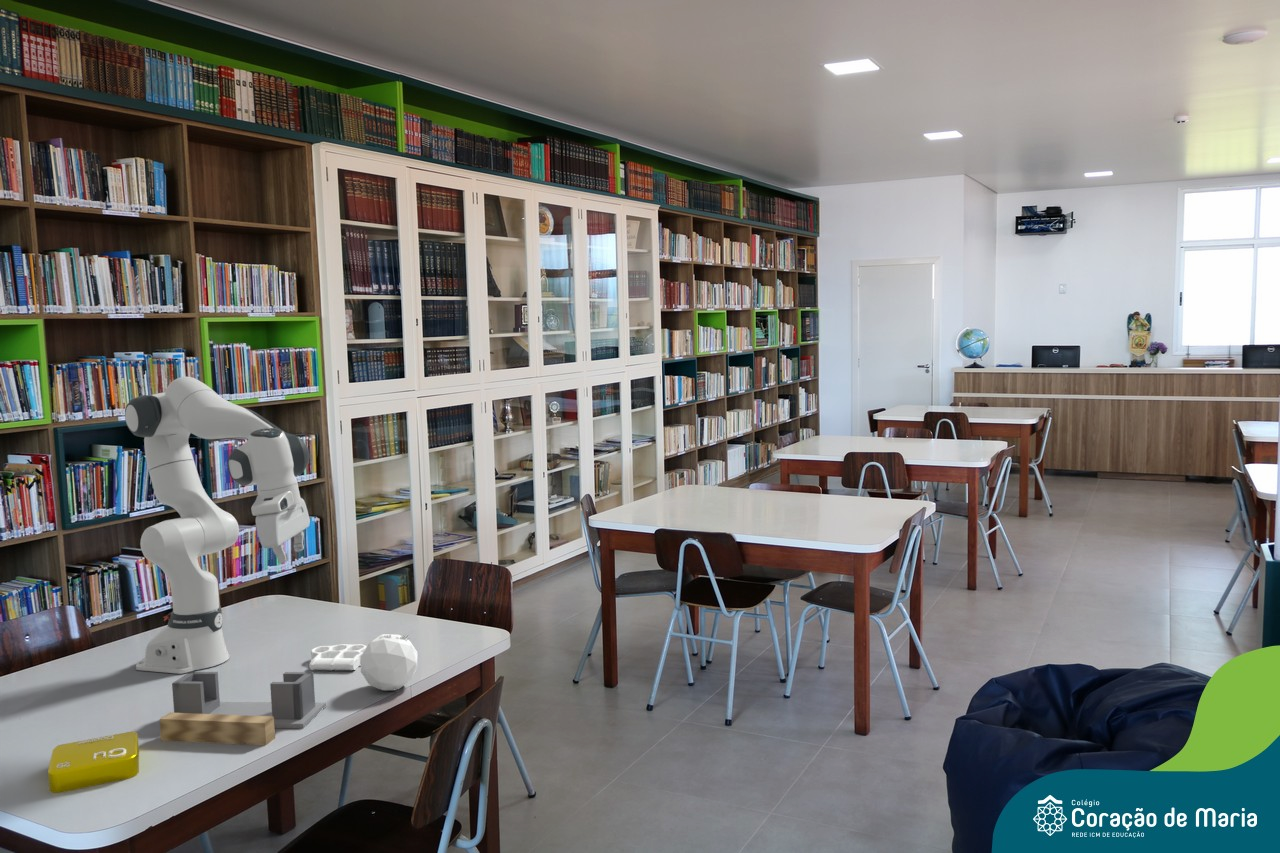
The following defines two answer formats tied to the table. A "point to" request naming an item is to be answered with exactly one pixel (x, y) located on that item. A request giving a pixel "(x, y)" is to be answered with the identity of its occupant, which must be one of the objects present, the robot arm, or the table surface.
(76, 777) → the element tile
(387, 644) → the geodesic sphere
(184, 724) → the oak slat
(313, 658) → the knuckle duster
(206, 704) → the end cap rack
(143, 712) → the table surface
